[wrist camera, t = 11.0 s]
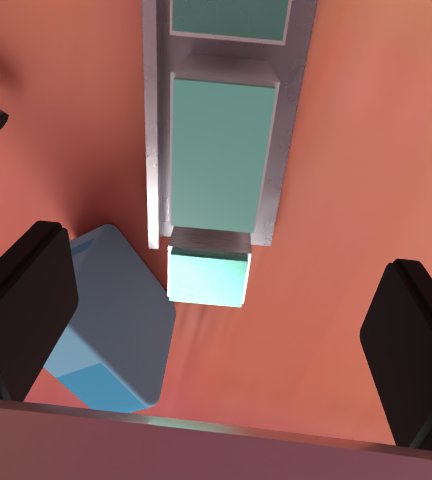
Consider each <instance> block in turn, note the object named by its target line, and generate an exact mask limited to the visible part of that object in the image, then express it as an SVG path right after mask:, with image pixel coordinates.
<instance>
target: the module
mask: <svg viewBox="0 0 432 480" xmlns="http://www.w3.org/2000/svg"><path fill="white" fill-rule="evenodd" d="M279 86H280V81H279V80H278V78H277V76H276V75H275V73H274V71H273V70H272V68H271V66H270V65H269V63H268V61H262V60H251V59H240V58H229V57H218V56H208V55H197V54H189V55H188V56H187V57H186V58H185V59H184V60H183V61H182V62H181V63H180V64H179V65H178V66H176V67H175V68H174V69H173V70H172V71H171V73H170V184H169V224H171V226H180V227H191V228H202V229H213V230H224V231H235V232H246V233H253V232H256V228H257V222H258V216H259V210H260V203H261V197H262V191H263V185H264V179H265V172H266V166H267V160H268V154H269V148H270V141H271V135H272V129H273V123H274V117H275V110H276V104H277V98H278V92H279Z"/></svg>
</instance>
